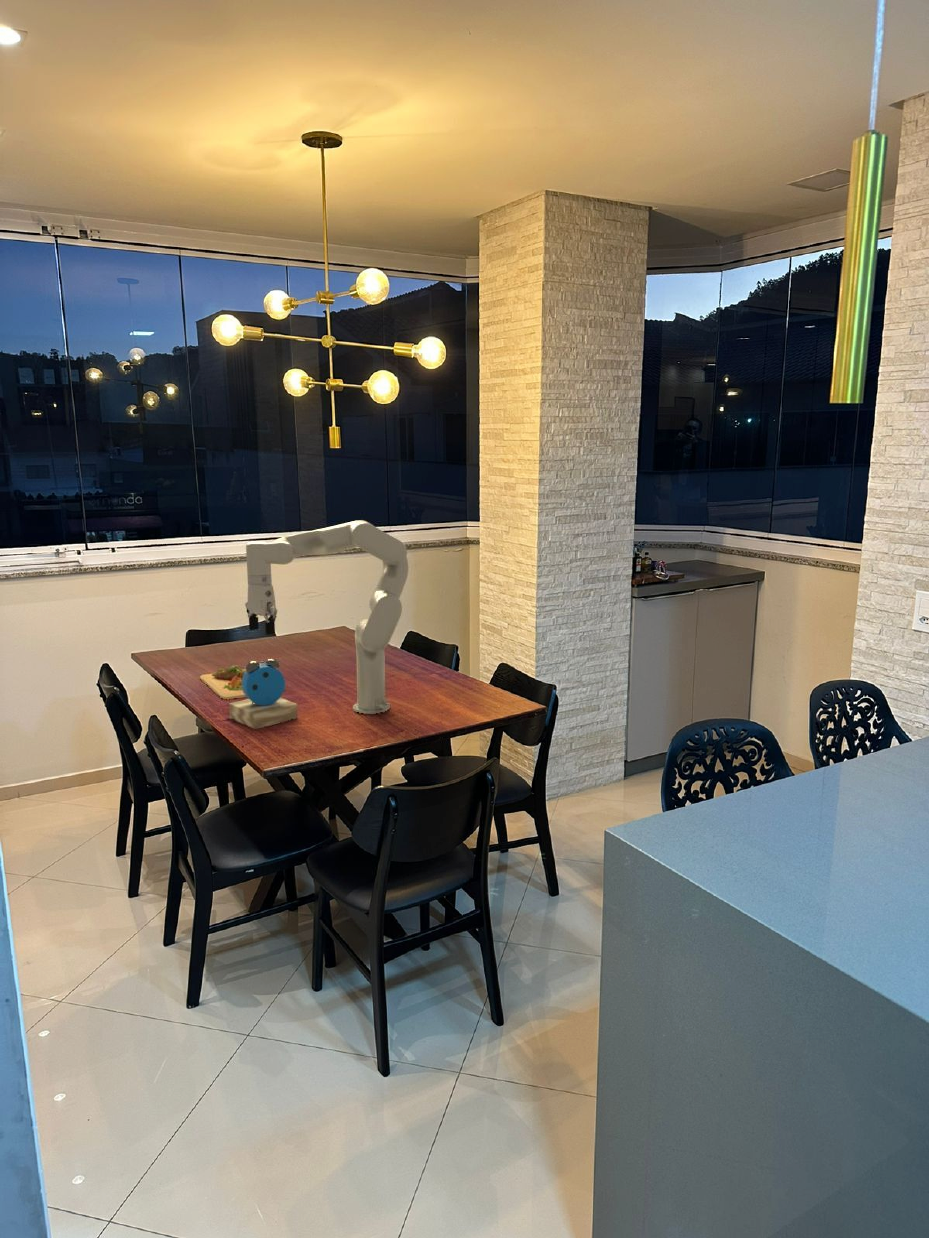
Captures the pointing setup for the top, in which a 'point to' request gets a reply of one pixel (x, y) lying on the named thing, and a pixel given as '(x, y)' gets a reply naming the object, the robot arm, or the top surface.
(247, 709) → the wooden box
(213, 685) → the cutting board
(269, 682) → the alarm clock
